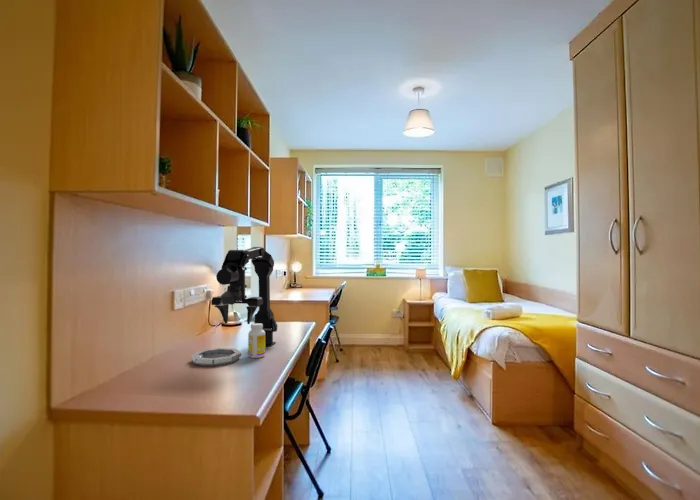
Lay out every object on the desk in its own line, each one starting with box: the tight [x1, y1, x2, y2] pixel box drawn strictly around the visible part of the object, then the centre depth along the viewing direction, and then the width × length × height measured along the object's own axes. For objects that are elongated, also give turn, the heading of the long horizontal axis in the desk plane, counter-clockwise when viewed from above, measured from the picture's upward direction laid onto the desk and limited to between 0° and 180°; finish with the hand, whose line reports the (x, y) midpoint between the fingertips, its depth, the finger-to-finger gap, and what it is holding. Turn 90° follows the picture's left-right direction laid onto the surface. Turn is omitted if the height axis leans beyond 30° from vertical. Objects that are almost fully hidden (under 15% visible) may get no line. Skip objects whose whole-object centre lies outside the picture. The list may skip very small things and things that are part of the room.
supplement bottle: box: [247, 323, 266, 359], centre depth 153 cm, size 7×7×13 cm
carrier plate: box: [191, 347, 242, 367], centre depth 147 cm, size 17×17×2 cm
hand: (237, 323), depth 145 cm, fingers open, 9 cm apart
